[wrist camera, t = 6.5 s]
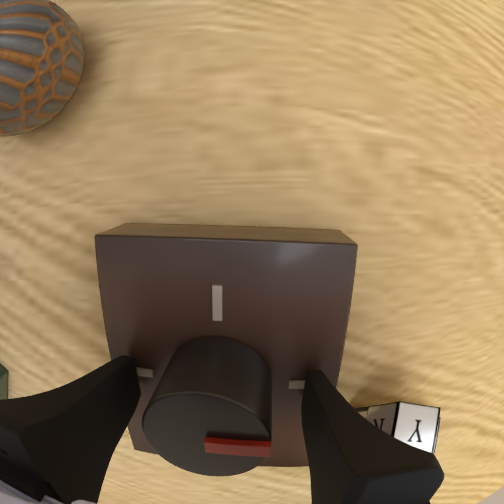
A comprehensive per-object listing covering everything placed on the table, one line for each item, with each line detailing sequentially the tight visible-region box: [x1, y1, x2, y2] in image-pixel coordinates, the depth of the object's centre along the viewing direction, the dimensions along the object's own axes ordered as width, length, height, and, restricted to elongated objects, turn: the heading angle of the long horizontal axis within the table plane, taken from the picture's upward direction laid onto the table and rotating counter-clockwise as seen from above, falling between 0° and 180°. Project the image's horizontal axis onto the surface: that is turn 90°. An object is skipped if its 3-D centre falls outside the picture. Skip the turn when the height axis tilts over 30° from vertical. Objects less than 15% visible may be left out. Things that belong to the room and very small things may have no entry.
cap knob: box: [142, 337, 272, 476], centre depth 11 cm, size 4×4×4 cm
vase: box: [0, 0, 85, 137], centre depth 8 cm, size 7×7×9 cm
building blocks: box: [355, 401, 440, 454], centre depth 14 cm, size 5×5×8 cm
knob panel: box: [95, 224, 358, 467], centre depth 14 cm, size 12×10×3 cm
